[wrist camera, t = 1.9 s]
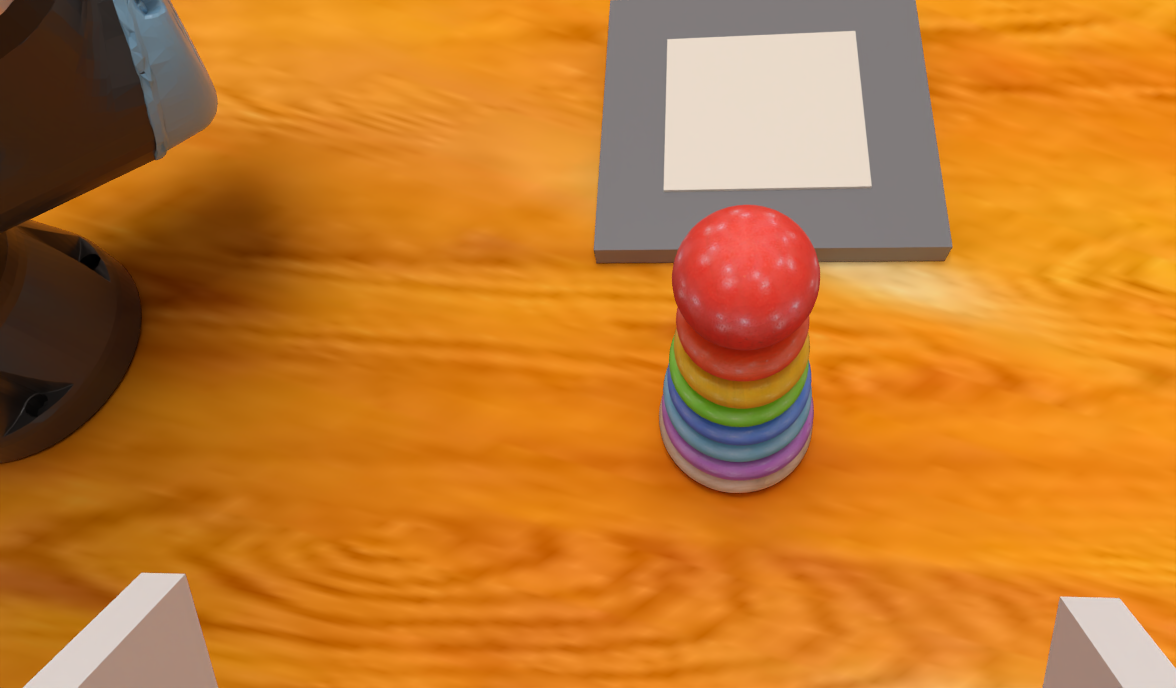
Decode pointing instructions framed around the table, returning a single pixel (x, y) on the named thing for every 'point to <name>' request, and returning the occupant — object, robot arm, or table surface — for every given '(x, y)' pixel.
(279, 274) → the table surface
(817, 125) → the plate
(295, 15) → the table surface
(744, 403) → the stacking toy
